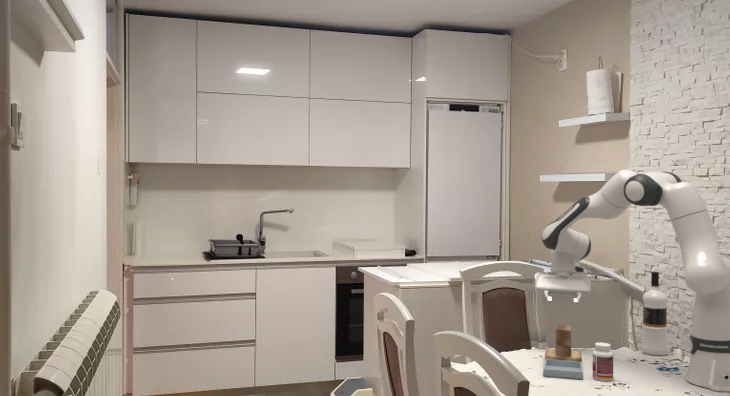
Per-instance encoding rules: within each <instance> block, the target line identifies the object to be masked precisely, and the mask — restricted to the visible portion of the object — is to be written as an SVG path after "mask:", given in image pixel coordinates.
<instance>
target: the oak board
mask: <svg viewBox="0 0 730 396" xmlns="http://www.w3.org/2000/svg"><path fill="white" fill-rule="evenodd" d="M545 359H552V360H565V361H578V362H582V363H583V356H582V350H571V357H562V356H556V348H545V352H544V360H545Z"/></svg>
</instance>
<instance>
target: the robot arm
mask: <svg viewBox="0 0 730 396" xmlns="http://www.w3.org/2000/svg"><path fill="white" fill-rule="evenodd" d="M631 205H633V206H639V207H656V206H659V205H660V206H662V207H663V208H664V209H665V210H666V211H667V215H668V217H669V219H670V222H671V225H672V227H673V228H672V229H673V230H674V232H675V233H674V234H675V235H676V239H677V242H678V244H679V248H680V253H681V257H682V264H683V269H684V281H685V284H686V287H688V289H690V290H691V291H692V292H694V293H696V294H695V299H694V304H693V306H692V309H691V334H690V337H689V338H690V339H689V352H690V359H689V366H688V370H687V373H686V376H685V381H687V382H688V383H689V384H693V385H696V386H698V387H699V386H700V387H703V388H707V389H709V390H712V391H715V392H727V393H728V392H730V258H727V257H725V256H722V255H721V253H720V248H719V242H718V233H717V230H716V227H715V225H714V223H713V221H712V218H711V215H710V212H709V211H708V208H707V206H706V203H705V201H704V199H703V198H702V195H701V194H700V193H699V190H697V188H696V186H695V185H694V184H692V183H690V182H687V181H682V179H681V178H680V177H679V176H678V175H676V173H673V172H670V171H657V172H656V171H648V172H645V173H638V172H637V173H636V172H635V171H633V170H630V169H622V170H619V171H618V172H616V174H614V175H613V176H612V177H611V178H610V179H608V180H607V181H606V182H605V184H604V185H603V186H602V188H600V189H599V190H598V191H596V192H595V193H592V194H591V195H588V196H585V197H581V198H580V199H578V200H577V201H576V202H575V203H574V204H572V205H571V206H570V207H569V208H568V209H566V210H565V211H564V212H563V213H562V214H561V215H560V216H558V217H557V219H555V220H553V221H552V222H550V223H549V224H548V225H546V226H545V227H544V229H543V230H542V232H541V238H540V239H541V241H542V244H543V245H544V247H545V248H546V249H549V250H551V251H550V252H551V253H550V259H551V263H550V271H538V272H536V273H534V275H533V276H534V277H533V278H534V281H535V282H534V292H535V294H537V295H538V294H540V295H544V296H543V297H544V298H545V299H546V301H547V302H546V303H547V304H552V296H549V295H553V296H556V295H557V296H567V297H568V296H569V297H571V296H572V297H576V298H573V305H574V306H579V302H580V301H581V299H582V297H584V298H585V297H586V298H587V297H590V296H591V295H592V284H591V283H592V282H591V279H590V277H589V275H588V270H587V268H584V267H581V266H578V265H576V263H577V262H580V261H582V260H584V259H585V258H587V257H588V256H589V255H590V253H591V250H592V243H591V242H592V241H591V239H590V237H589V235H586V234H585V233H582V232H580V231H576V230H574V229H571V227H572V226H573V225H574V224H576V223H577V222H578V221H579V220H582V219H586V218H587V219H588V218H589V219H591V218H592V219H593V218H594V219H600V220H612V219H616V218H618V217H620V216H622V215H623V213H625V211H627V209H629V207H630V206H631Z"/></svg>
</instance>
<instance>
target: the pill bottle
mask: <svg viewBox="0 0 730 396" xmlns="http://www.w3.org/2000/svg"><path fill="white" fill-rule="evenodd" d="M611 346H612V345H611V344H610V343H607V342H595V344H594V350H593V351H592V378H593V379H594V380H596V381H601V382H610V381H613V380H614V353H613V352H612V351H611V348H612V347H611Z"/></svg>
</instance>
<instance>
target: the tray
mask: <svg viewBox="0 0 730 396" xmlns="http://www.w3.org/2000/svg"><path fill="white" fill-rule="evenodd" d="M543 378H553V379H563V380H565V379H566V380H573V381H584V368H583V361H582V362H578V361H565V360H552V359H545V358H544V363H543Z"/></svg>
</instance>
